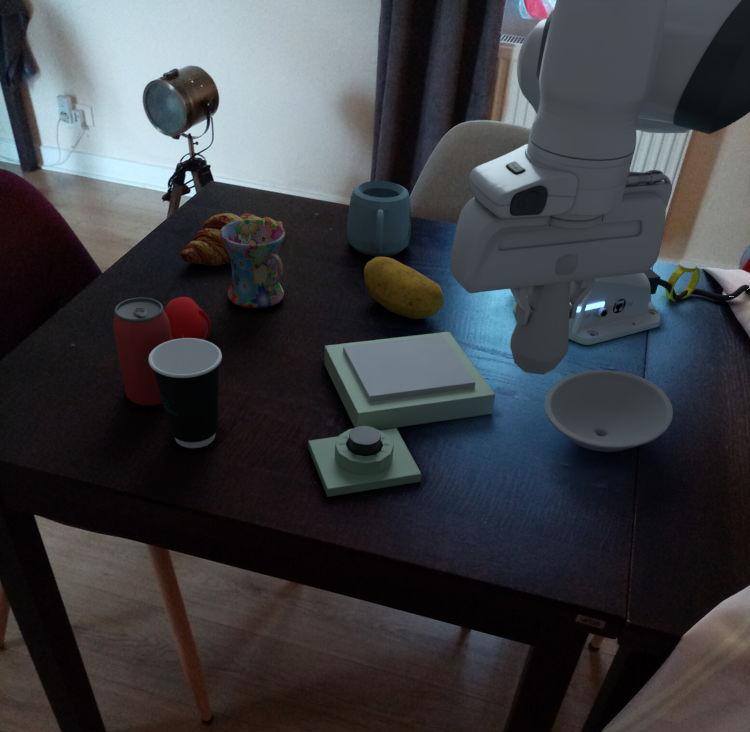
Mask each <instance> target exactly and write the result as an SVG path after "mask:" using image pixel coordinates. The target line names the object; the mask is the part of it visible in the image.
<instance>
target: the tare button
mask: <svg viewBox="0 0 750 732" xmlns="http://www.w3.org/2000/svg"><path fill="white" fill-rule="evenodd" d="M351 429H352V430H351V431H350V433H349V450H350V451H351V452H352V453H354V454H355V455H361V456H371V455H375V454H377V453H378V452H379V450H380V441H381V434H380V432H379V431H378V430H377V429H375V428H373V427H370V426H358V427H353V428H351Z"/></svg>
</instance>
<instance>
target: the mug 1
mask: <svg viewBox="0 0 750 732" xmlns="http://www.w3.org/2000/svg"><path fill="white" fill-rule="evenodd" d="M220 236H221V238H222V240H223V242H224V244H225V246H226V248H227V251H228V253H229V257H230V260H231V263H230V265H231V281H230V286H229V288H228V290H227V297H228V299H229V300H230V301H231V302H232V303H233V304H234V305H236V306H238V307H240V308H241V307H242V308H245V309H255V310H256V309H257V310H258V309H266V308H270V307H273V306H275V305H277V304H279V303H280V302H281V301H283V298H284V296H285V291H284V288H283V287H282V285H281V283H280V281H281V280H282V278H283V275H284V264H283V261H282V259H281V257H280V256H279V255H280V250H281V247H282V244H283V241H284V239H285V238H286V231H285V228H284V227H283V228H282V227H281V226H280V225H278V224H276V223H274V222H270V221H266V220H259V219H246V220H238V221H234V222H231V223H229V224H227V225H225V226H224V227H223V228H222V229H221V231H220Z"/></svg>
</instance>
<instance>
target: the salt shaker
mask: <svg viewBox="0 0 750 732" xmlns="http://www.w3.org/2000/svg"><path fill="white" fill-rule="evenodd" d="M577 264H578V256H577V255H574V254H567V255H564V256H562V257H559V258H558V260H557V263H556V265H555V273H556V274H557V275H567V274H571V273H573V272H574V271H575V270H576V267H577ZM570 290H571V281H570V282H560V283H553V284H545V285H537V286H533V290H532V294H531V295H528V297H527V300H528V303H529V305H530V308H532V309H534V312H533V314H532V317H531V319H530V322H529V324H527V325H522V326H521V325H519V323H518V322H517V321H516V324H515V326H514V329H513V331H512V334H511V336H510V342H509V343H510V344H509V348H510V352H511V356H512V359H513V362H514V364H515V365H516V366H517V367H518V368H519V369H520V370H521V371H522V372H524V373H526V374H532V375H533V374H534V375H541V376H544V375H546V374H548V373H550V372H552V371H554V370H556V368H557V367H558V366H559V364H560V363H561V362H562V361H563V359H564V358H565V357H566V356H567V353H568V351H569V339H568V336H569V313H570Z"/></svg>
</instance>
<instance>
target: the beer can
mask: <svg viewBox="0 0 750 732" xmlns="http://www.w3.org/2000/svg"><path fill="white" fill-rule="evenodd" d="M113 312H114V316H113V321H112V330H113V335H114V341H115V346H116V350H117V356H118V361H119V367H120V371H121V377H122V382H123V386H124V392H125V396H126V397H127V399H128V400H129V401H131V402H132V403H134V404H135V405H138V406H142V407H156V406H161V405H163V402H162V398H161V395H160V391H159V388H158V385H157V381H156V378H155V374H154V371H153V369H152V368H151V366H150V364H149V361H148V358H149V355H150V353H151V351H152V350H153V349H154V348H156V347H157V346H158V345H160V344H162V343H164V342H167V341H170V340H172V335H171V328H170V322H169V319H168V317H167V315H166V313H165V311H164V305H163V304H162V302H160V301H159V300H156V299H154V298H150V297H132V298H128V299H125V300H123V301H120V302H119V303H118V304H117V305H116V306H115V308H114V311H113Z"/></svg>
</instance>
